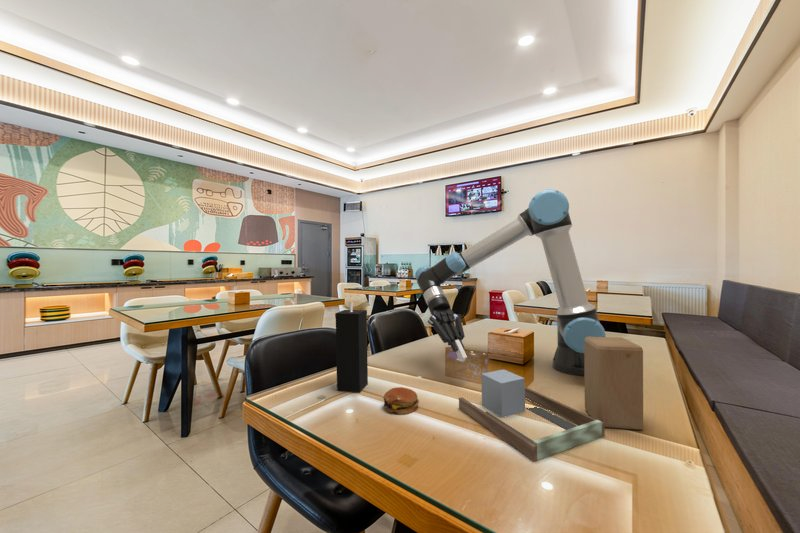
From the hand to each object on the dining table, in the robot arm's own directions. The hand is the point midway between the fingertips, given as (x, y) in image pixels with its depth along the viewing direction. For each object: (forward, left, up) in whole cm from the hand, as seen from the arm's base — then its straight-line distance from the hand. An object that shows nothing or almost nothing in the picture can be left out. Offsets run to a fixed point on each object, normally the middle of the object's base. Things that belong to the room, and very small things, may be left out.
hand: (463, 359), depth 103 cm
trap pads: (-1, +25, -9) cm, 26 cm away
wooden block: (-21, +34, -9) cm, 41 cm away
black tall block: (+32, -16, -9) cm, 37 cm away
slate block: (-1, +17, -9) cm, 19 cm away
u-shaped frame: (-1, +25, -9) cm, 26 cm away
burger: (+24, +4, -9) cm, 26 cm away
